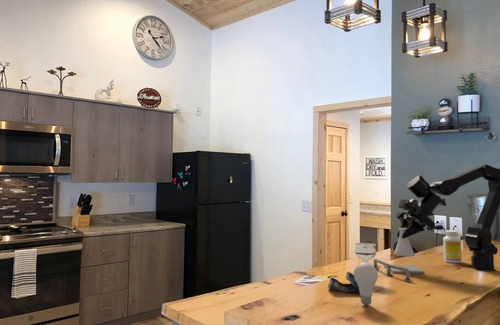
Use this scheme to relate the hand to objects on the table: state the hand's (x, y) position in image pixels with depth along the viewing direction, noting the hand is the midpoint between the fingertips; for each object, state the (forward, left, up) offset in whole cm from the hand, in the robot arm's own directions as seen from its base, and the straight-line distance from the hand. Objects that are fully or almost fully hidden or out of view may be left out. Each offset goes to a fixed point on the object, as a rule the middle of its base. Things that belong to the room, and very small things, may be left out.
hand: (400, 237), depth 145 cm
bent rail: (+5, +7, -12) cm, 15 cm away
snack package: (+19, +33, -13) cm, 40 cm away
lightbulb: (+16, +47, -13) cm, 51 cm away
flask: (-1, 0, -7) cm, 7 cm away
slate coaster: (-1, -2, -12) cm, 13 cm away
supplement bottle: (-24, -25, -13) cm, 37 cm away
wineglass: (+14, +19, -13) cm, 26 cm away
